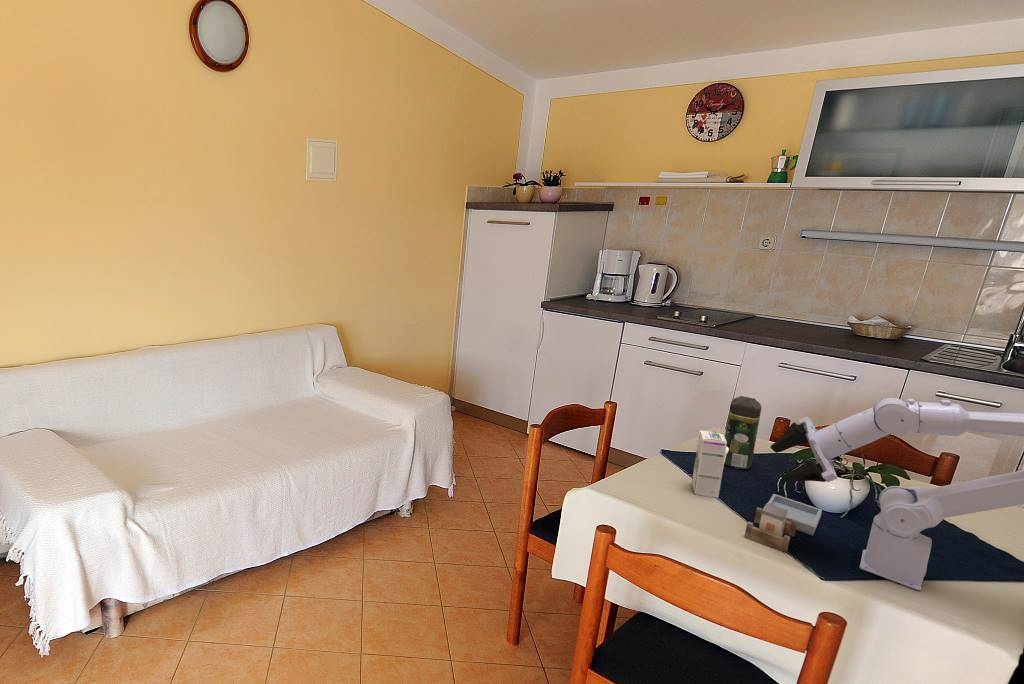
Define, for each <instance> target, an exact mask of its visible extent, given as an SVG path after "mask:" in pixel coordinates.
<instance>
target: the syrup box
mask: <svg viewBox="0 0 1024 684" xmlns="http://www.w3.org/2000/svg"><path fill="white" fill-rule="evenodd" d="M726 445H727V441H726V439H725V434H724V433H721V432H719V433H718V431H711V430H699V432H698V438H697V445H696V452H695V458H694V465H693V473H692V480H691V487H692V489H693V490H692V491H693V493H694V495H697V496H702V497H708V498H713V499H718V498H719V495H720V490H721V484H722V479H723V470H724V467H723V465H725V464H724V458H725V451H726Z"/></svg>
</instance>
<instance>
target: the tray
mask: <svg viewBox="0 0 1024 684" xmlns="http://www.w3.org/2000/svg"><path fill="white" fill-rule="evenodd" d="M767 503H768V504H771V505H774V506H777V507H780V508H783V509H786V510H788V512H787V515H786V520H787V521H790V522H792V520H796V521H798V523H797V527H796V531H798V532H801V533H804V534H806V535H808V536H811V537H812V536H813V537H814V535H815V532H816V530H817V528H818V525H819V523H820V520H821V517H822V513H823V509H821V508H818V507H814V506H812V505H809V504H806V503H803V502H800V501H796V500H794V499H790V498H788V497H785V496H782V495H779V494H777V493H776V494H775V493H773V494H772V496H771V497H770V499H769V500H768V502H767Z"/></svg>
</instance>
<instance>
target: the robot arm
mask: <svg viewBox="0 0 1024 684" xmlns="http://www.w3.org/2000/svg"><path fill="white" fill-rule="evenodd" d="M906 400H907V401H906V402H905V401H904V400H901V399H900V398H896V397H886V398H882V397H881V398H879V399H878V400H877V401H876V402H875V403H874V405H873V407H870V408H868V409H866V410H863V411H861V412H857V413H855V414H852V415H850V416H848V417H846V418H843V419H841V420H839V421H837V422H835V423H832V424H830V425H828V426H825V427H823V428H820V429H819V430H817V429H816V427H815V425H814V423H813V421H812V419H811V418H810V417H809V416H804V417H803V418H800V419H798V422H799V424H798V423H796V422H791V424H790V426H789V427H788V429H787V430H786V431H785V433H784V434H783V435H782V436H781V437H780V438H778V439H777V440H776V441H775V442H774V443H772V444H771V445H770V449H771V450H772V451H773V452H774V453H775V454H777V453H781V452H784V451H787V450H789V449H792V448H794V447H797V446H802V445H808V444H809V446H810V448H811V451H812V453H813V455H814V458H815V460H816V462H817V463H816V462H815V460H813V459H812V458H809V459H807V460H806V461H805V462H804V463H803V464H801V465H800V466H798V467H796V468H795V469H792V470H790V471H787V472H785V473H783V474H781V477H780V478H781V479H782V481H783V482H785V483H786V484H789V483H791V484H792V483H795V482H797V483H798V482H821V483H826V482H827V483H829V482H832V481H834V480H838V479H839V477H838V475H837V473H836V470H835V466H834V464H833V463H834V462H833V460H832V459H834V458H836V457H837V458H838V457H839V456H841V455H843V454H846V453H849V452H851V451H853V450H856V449H858V448H861V447H863V446H865V445H868V444H870V443H873V442H875V441H878V440H879V439H881V438H884V437H886V436H888V435H894V436H897V437H899V436H903V435H906V434H908V433H913V434H914V433H915V434H924V435H936V436H949V437H951V436H952V437H959V436H961V435H963V434H965V433H966V432H968V431H971V432H979V433H989V434H996V435H997V434H998V435H1006V436H1014V437H1015V436H1016V437H1023V438H1024V413H1020V412H1017V413H1016V412H995V411H994V412H990V411H989V412H987V411H986V412H985V411H967V410H966V409H964V408H963V407H962V406H961V405H959V404H958V403H952V402H951V400H950V399H940V402H929V401H915V399H914V398H907V399H906ZM878 503H879V505H880V510H881V511H880V512H879V513H877V515H875V516H874V517H873V521H872V524H871V529H870V533H869V538H868V541H867V545H866V549H862V554H861V559H860V564H859V569H860V570H862V571H866V572H868V573H871V574H874V575H876V576H879V577H882V578H885V579H886V580H890V581H892V582H894V583H895V582H896V583H898V584H900V585H903V586H905V587H908V588H911V589H913V590H917V591H921V590H922V586H923V581H924V577H926V575H927V570H928V562H929V558H930V554H931V549H932V538H931V537H928V536H926V535H923V534H922V533H921V532H922V531H924V530H926V529H929V528H935V527H936V526H938V525H939V524H941V522H942V521H943V520H944V519H947V518H951V517H957V516H964V515H969V514H977V513H982V512H987V511H993V510H997V509H998V510H999V509H1004V508H1010V507H1015V506H1021V505H1022V506H1023V505H1024V469H1021V470H1016V471H1012V472H1007V473H1002V474H996V475H992V476H987V477H982V478H981V477H980V478H977V479H972V480H966V481H962V482H957V483H951V484H946V485H942V486H936V487H931V488H930V487H926V486H925V487H924V486H919V485H916V486H910V487H905V486H899V485H892V486H887V487H886V488H884V489H883V490H882V491H881V492H880V493H879V495H878Z"/></svg>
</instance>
